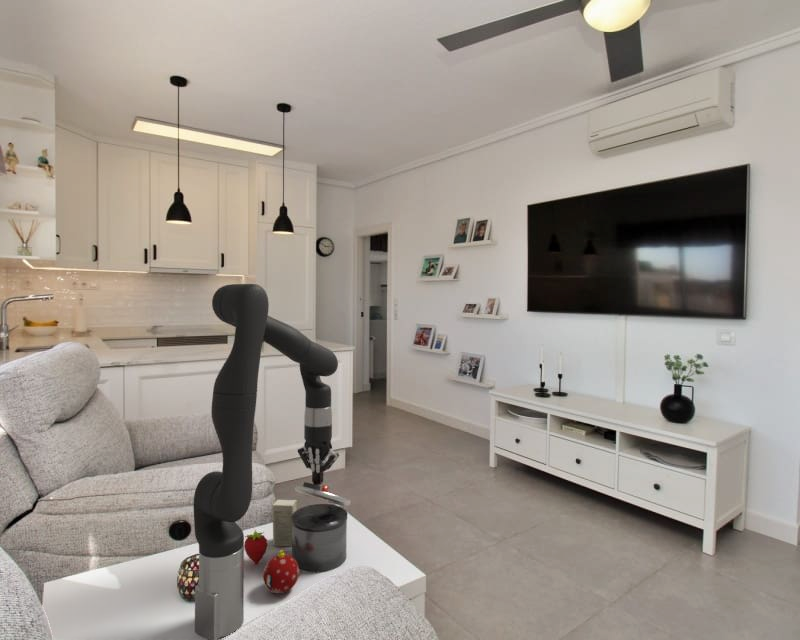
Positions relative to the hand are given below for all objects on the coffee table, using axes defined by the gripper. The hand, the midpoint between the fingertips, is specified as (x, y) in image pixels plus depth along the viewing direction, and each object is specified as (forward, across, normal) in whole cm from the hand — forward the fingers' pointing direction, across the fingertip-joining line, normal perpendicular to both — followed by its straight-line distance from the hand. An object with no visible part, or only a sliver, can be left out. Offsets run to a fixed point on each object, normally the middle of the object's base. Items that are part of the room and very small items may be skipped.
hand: (317, 484), depth 132 cm
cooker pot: (+21, 0, +1) cm, 21 cm away
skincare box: (+21, -14, +3) cm, 26 cm away
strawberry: (+21, -13, -10) cm, 27 cm away
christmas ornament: (+21, +1, -16) cm, 27 cm away
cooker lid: (+5, 0, +2) cm, 5 cm away
